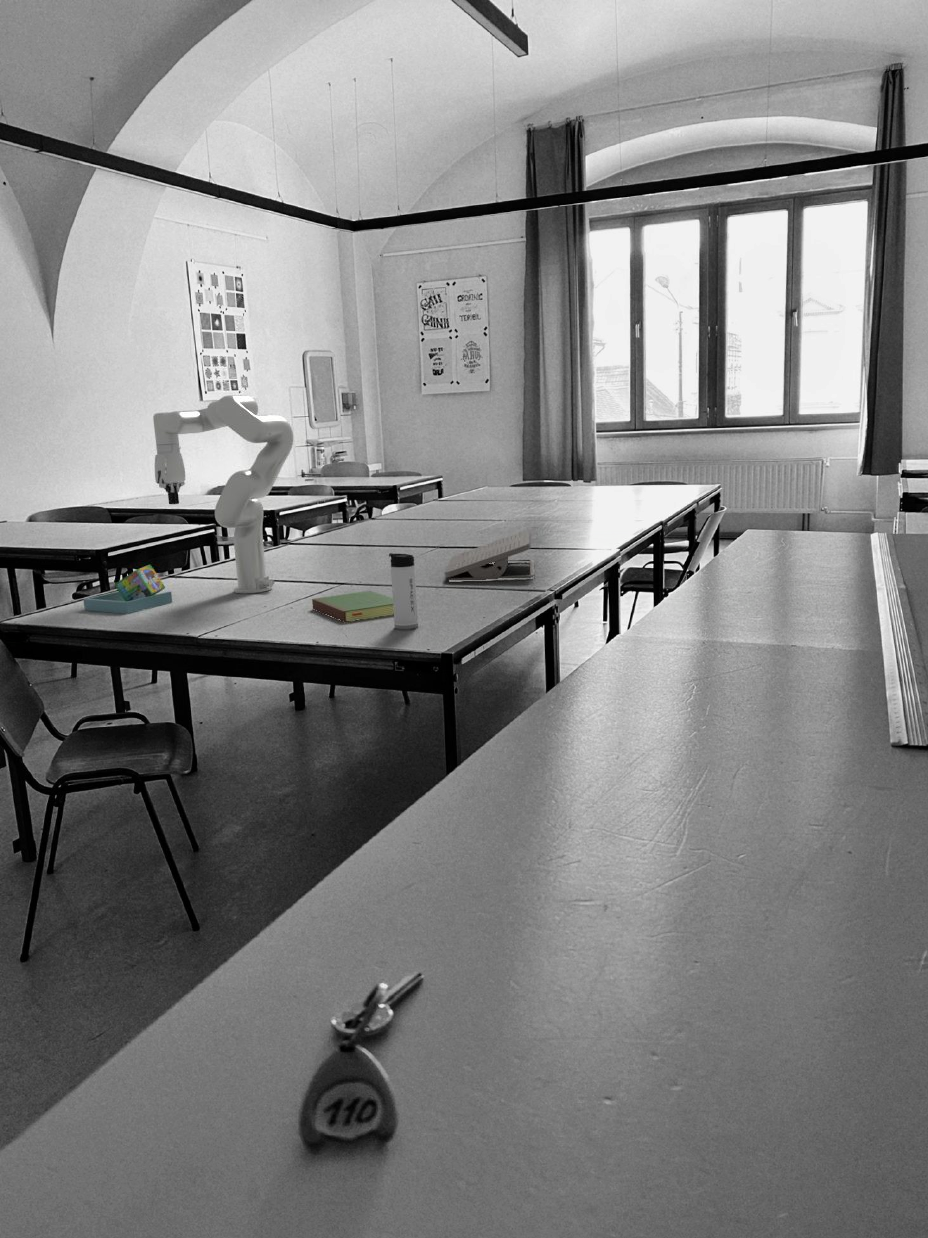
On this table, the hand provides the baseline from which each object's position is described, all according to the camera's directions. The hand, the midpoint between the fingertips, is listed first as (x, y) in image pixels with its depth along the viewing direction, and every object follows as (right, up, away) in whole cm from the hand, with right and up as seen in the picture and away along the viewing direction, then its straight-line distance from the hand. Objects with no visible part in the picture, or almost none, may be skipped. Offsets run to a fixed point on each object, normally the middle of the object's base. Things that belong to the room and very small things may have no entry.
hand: (174, 503), depth 338 cm
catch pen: (-7, -35, -24) cm, 43 cm away
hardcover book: (+69, -38, -50) cm, 93 cm away
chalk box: (-4, -28, -18) cm, 33 cm away
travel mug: (+84, -42, -75) cm, 120 cm away
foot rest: (+109, -24, +7) cm, 112 cm away
